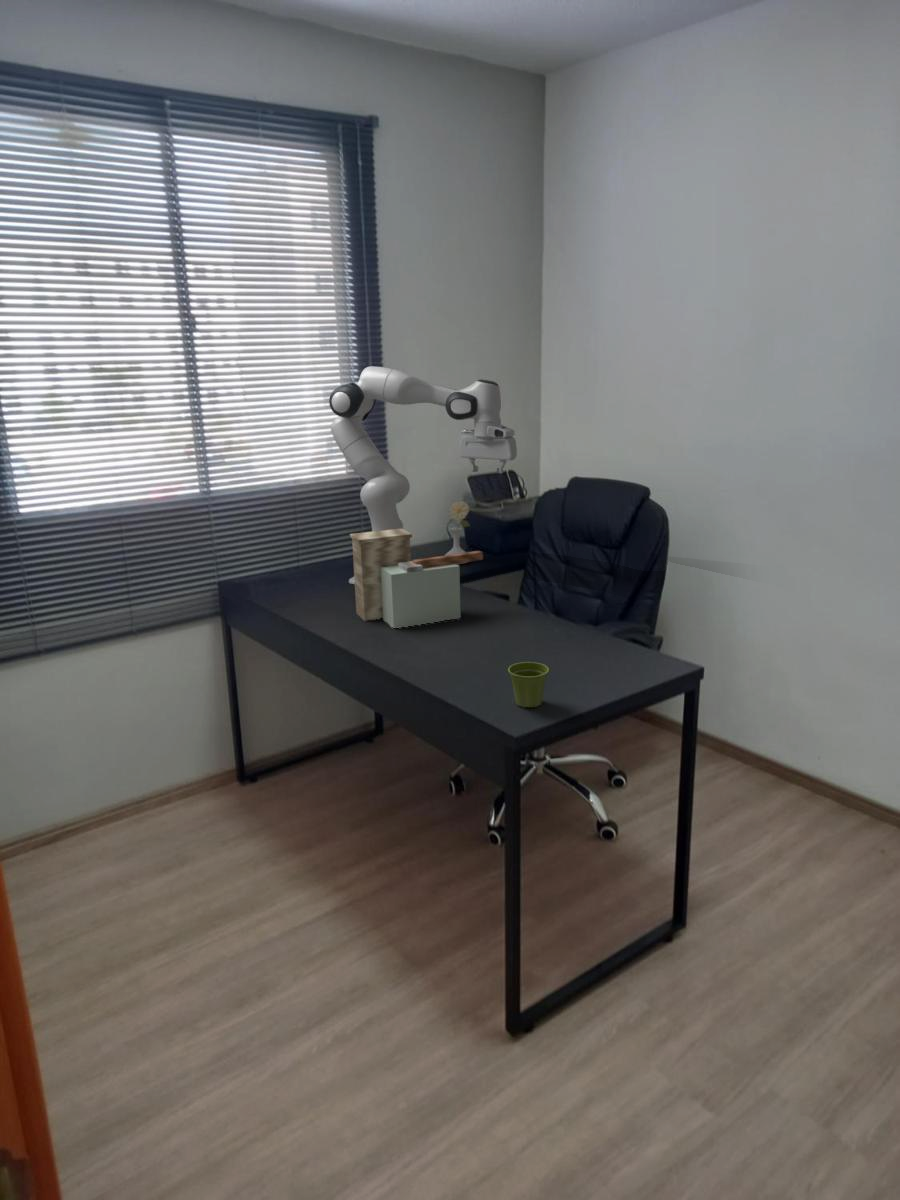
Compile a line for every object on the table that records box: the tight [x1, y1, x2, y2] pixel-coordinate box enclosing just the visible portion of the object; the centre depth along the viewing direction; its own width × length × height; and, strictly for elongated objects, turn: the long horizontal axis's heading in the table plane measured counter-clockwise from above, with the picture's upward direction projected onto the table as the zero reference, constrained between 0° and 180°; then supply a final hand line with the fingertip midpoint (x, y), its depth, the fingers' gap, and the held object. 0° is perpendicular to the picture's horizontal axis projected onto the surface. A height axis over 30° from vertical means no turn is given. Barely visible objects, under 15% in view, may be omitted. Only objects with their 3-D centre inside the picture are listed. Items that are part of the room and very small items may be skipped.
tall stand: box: [349, 528, 413, 622], centre depth 263 cm, size 17×10×26 cm, turn 113°
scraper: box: [398, 550, 484, 573], centre depth 257 cm, size 27×7×2 cm, turn 117°
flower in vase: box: [443, 500, 471, 565], centre depth 324 cm, size 13×11×25 cm
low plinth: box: [381, 564, 462, 629], centre depth 257 cm, size 22×10×17 cm, turn 113°
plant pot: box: [507, 661, 550, 708], centre depth 195 cm, size 9×9×9 cm
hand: (487, 472), depth 279 cm, fingers open, 8 cm apart
